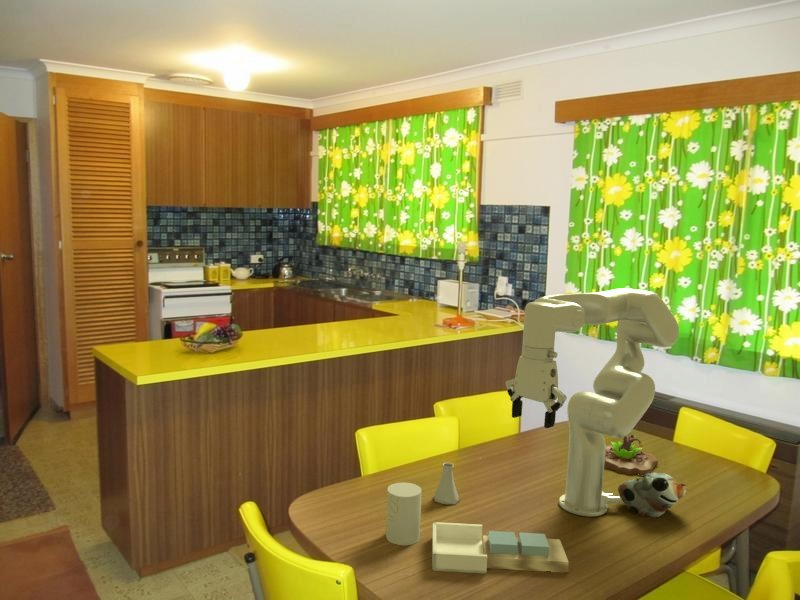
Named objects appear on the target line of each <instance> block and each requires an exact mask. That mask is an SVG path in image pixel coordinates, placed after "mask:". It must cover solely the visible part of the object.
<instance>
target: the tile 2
mask: <svg viewBox="0 0 800 600" xmlns="http://www.w3.org/2000/svg"><path fill="white" fill-rule="evenodd" d="M517 537H518V543H519V546H520V550H521V554H522V555H534V556H549V545H548V542H547V539H548V538H547V537H546V533H537V532H536V533H534V532H518V536H517Z"/></svg>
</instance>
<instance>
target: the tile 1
mask: <svg viewBox="0 0 800 600" xmlns="http://www.w3.org/2000/svg"><path fill="white" fill-rule="evenodd" d="M515 533H516V532H515V531H514V532H513V531H501V530H500V531H498V530H488V533H487V534H488V535H487V536H488V543H489V548H490V553H498V554H516V555H517V550H518V544H517V540H516V537H517V536H516V534H515Z"/></svg>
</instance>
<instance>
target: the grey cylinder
mask: <svg viewBox="0 0 800 600" xmlns="http://www.w3.org/2000/svg"><path fill="white" fill-rule="evenodd" d="M386 490H387V492H386V493H387V495H386V499H387V500H386V525H385V526H386V528H385V539H386V538H387V539H386V540H387V541H388V542H389V543H391V544H394V545H396V544H397V546H410V545H414V544H416V543H417V542H419V540H420V539H421V537H420V535H421V514H422V513H421V511H422V487H420V486H419V485H417V484H415V483H412V482H395V483H393V484H390V485H388V486H387V489H386Z"/></svg>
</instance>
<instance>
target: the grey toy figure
mask: <svg viewBox="0 0 800 600" xmlns="http://www.w3.org/2000/svg"><path fill="white" fill-rule="evenodd" d="M686 485H687V484H685V483H678V482H677V481H676V479H675V478H673V476H671V475H669V474H667V473H664V472H663V473H661V472H652V473H646V474H645V475H644V476H642V478H633V479H631V480H626V481H625V482H622V483H621V484H619V486H618V487H617V491H618V494H619V497H620V499H621V501H622V502H623V504H624V505H625V506H626V507H627V508H628V509H629V511H634V512H635V515H637V516H639V517H645V516H649V517H648V518H656V517H658V518H660V517H661V516H662V515H664V514H665V513H666V511H667V510H668V509H671V508H673V506H675V505H676V504H677V503H678V501H679V500H680V499H681V498H683V497H684V496H686V492H688V489H687V487H686Z"/></svg>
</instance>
